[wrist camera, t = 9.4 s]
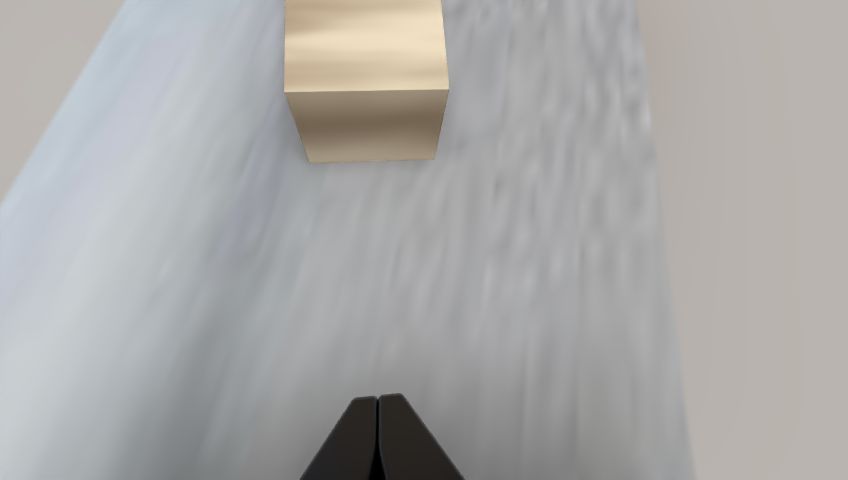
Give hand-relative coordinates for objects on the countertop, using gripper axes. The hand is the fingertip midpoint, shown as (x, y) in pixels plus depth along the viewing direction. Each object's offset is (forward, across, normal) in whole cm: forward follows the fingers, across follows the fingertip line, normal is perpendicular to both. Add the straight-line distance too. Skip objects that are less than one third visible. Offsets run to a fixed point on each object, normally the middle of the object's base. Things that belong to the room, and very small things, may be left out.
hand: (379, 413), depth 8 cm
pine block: (+14, 0, +1) cm, 14 cm away
